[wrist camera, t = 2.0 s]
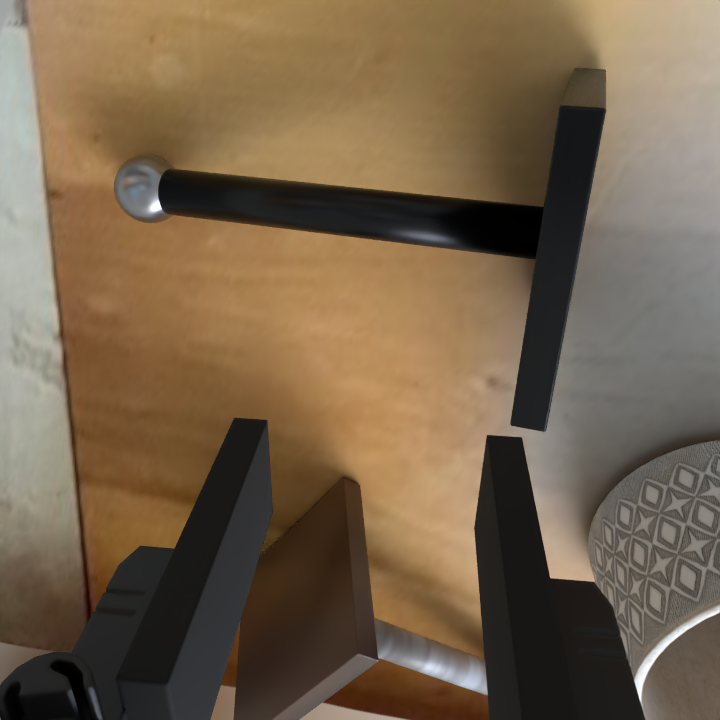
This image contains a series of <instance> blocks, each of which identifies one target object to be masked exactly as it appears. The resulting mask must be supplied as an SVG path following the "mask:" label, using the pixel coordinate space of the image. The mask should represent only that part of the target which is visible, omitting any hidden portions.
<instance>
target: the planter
mask: <svg viewBox="0 0 720 720" xmlns="http://www.w3.org/2000/svg"><path fill="white" fill-rule="evenodd" d="M588 553H589V559H590V564H591V568H592V571H593V575H594V578H595V582H596V585H597V586H598V588H599V589H600V590H601V592H602V593H603V594H604V596H605V597H606V598H607V599H608V601H609V602H610V603H611V605H612V606H613V610H614V613H615V617H616V620H617V623H618V627H619V630H620V637H622V640H623V644H624V647H625V651H626V658H627V659H628V661H629V664H630V668H631V671H632V675H633V678H634V682H635V685H636V688H637V692H638V695H639V699H640V702H641V705H642V709H643V712H644V716H645V719H646V720H720V440H717V441H711V442H705V443H699V444H694V445H691V446H687V447H684V448H680V449H677V450H674V451H672V452H669V453H667V454H664V455H662V456H660V457H657V458H655V459H653V460H651V461H650V462H648V463H646V464H644V465H643V466H641V467H639V468H637V469H636V470H635V471H633V472H632V473H631V474H629V475H628V476H627V477H625V478H624V479H623V480H622V481H621V482H620V483H619V484H618V485H617V486H616V487H615V488H614V489H613V490H612V491H611V492H610V493H609V494H608V495H607V496H606V498H605V499H604V501H603V502H602V503H601V505H600V506H599V508H598V510H597V512H596V514H595V516H594V518H593V520H592V524H591V527H590V531H589V535H588Z"/></svg>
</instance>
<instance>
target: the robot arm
mask: <svg viewBox="0 0 720 720" xmlns="http://www.w3.org/2000/svg"><path fill="white" fill-rule="evenodd" d="M272 513H273V506H272V489H271V473H270V456H269V440H268V423H267V420H258V419H243V418H234V420H233V422H232V424H231V426H230V428H229V431H228V433H227V435H226V437H225V439H224V442H223V444H222V446H221V448H220V450H219V453H218V455H217V457H216V459H215V461H214V463H213V466H212V468H211V470H210V472H209V474H208V477H207V479H206V481H205V483H204V485H203V488H202V490H201V492H200V494H199V496H198V499H197V501H196V503H195V505H194V507H193V509H192V512H191V514H190V516H189V518H188V520H187V523H186V525H185V527H184V529H183V531H182V534H181V536H180V538H179V540H178V542H177V544H176V547H175V549H172V548H160V547H148V546H139V547H138V548H137V549H136V550H135V551H134V552H133V553H132V554H131V555H130V556H128V557H127V558H126V559H125V560H124V561H123V562H122V563H121V564H120V565H119V566H118V568H117V569H116V571H115V573H114V575H113V577H112V579H111V581H110V582H109V584H108V586H107V588H106V593H104V594H103V595H102V597H101V599H100V601H99V603H98V605H97V606H96V611H95V612H93V614H92V616H91V618H90V619H89V621H88V623H87V625H86V627H85V629H84V631H83V632H82V634H81V636H80V638H79V640H78V642H77V644H76V645H75V647H74V649H73V651H72V653H68V652H52V653H49V654H45V655H41V656H37V657H35V658H33V659H31V660H29V661H28V662H26V663H24V664H22V665H21V666H19V667H17V668H16V669H15V670H14V671H13V672H12V673H11V674H10V675H9V676H8V677H7V678H6V679H5V680H4V681H3V682H2V683H1V685H0V718H1V720H210V719H211V715H212V712H213V708H214V706H215V702H216V699H217V696H218V692H219V689H220V686H221V682H222V679H223V676H224V672H225V669H226V666H227V662H228V659H229V656H230V653H231V649H232V646H233V643H234V639H235V636H236V633H237V629H238V626H239V623H240V619H241V616H242V613H243V609H244V606H245V603H246V600H247V596H248V593H249V590H250V586H251V583H252V580H253V576H254V573H255V570H256V566H257V563H258V560H259V556H260V553H261V550H262V546H263V543H264V540H265V537H266V533H267V530H268V527H269V523H270V520H271V517H272ZM474 529H475V541H476V554H477V566H478V579H479V592H480V604H481V617H482V629H483V642H484V654H485V667H486V680H487V692H488V705H489V717H490V720H646V719H645V716H644V712H643V709H642V705H641V702H640V699H639V695H638V692H637V688H636V685H635V682H634V678H633V675H632V671H631V668H630V664H629V661H628V659H627V658H626V651H625V647H624V644H623V640H622V637H620V630H619V627H618V623H617V620H616V617H615V613H614V610H613V606H612V605H611V603H610V602H609V601H608V599H607V598H606V597H605V596H604V594H603V593H602V592H601V590H600V589H599V588H598V586H597V585H596V584H595V582H588V581H576V580H564V579H552V578H550V576H549V571H548V566H547V561H546V556H545V551H544V546H543V541H542V536H541V531H540V526H539V521H538V516H537V511H536V506H535V501H534V496H533V491H532V486H531V481H530V476H529V471H528V466H527V461H526V456H525V451H524V446H523V441H522V438H521V437H507V436H492V435H487V439H486V446H485V453H484V461H483V468H482V476H481V483H480V490H479V498H478V505H477V513H476V520H475V527H474Z"/></svg>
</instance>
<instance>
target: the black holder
mask: <svg viewBox="0 0 720 720" xmlns="http://www.w3.org/2000/svg"><path fill="white" fill-rule="evenodd" d="M605 113H606V70H604V69H586V68H575V69H574V72H573V74H572V77H571V79H570V82H569V84H568V87H567V89H566V92H565V94H564V97H563V99H562V102H561V104H560V107H559V112H558V118H557V125H556V131H555V138H554V144H553V151H552V157H551V164H550V170H549V177H548V183H547V190H546V196H545V203H544V207H539V206H529V205H519V204H510V203H500V202H490V201H480V200H471V199H461V198H451V197H441V196H432V195H422V194H412V193H403V192H393V191H383V190H373V189H364V188H354V187H344V186H334V185H325V184H315V183H305V182H296V181H286V180H276V179H266V178H257V177H247V176H237V175H227V174H218V173H208V172H198V171H189V170H179V169H175V168H174V167H173V166H172V165H171V164H170V163H169V162H167V161H166V160H164V159H162V158H160V157H157V156H153V155H139V156H136V157H133V158H131V159H129V160H127V161H126V162H125V163H124V164H123V165H122V166H121V167H120V168H119V170H118V172H117V174H116V176H115V180H114V192H115V197H116V199H117V202H118V204H119V205H120V207H121V208H122V209H123V211H124V212H125V213H126V214H128V215H129V216H130V217H132V218H134V219H136V220H138V221H141V222H145V223H158V222H161V221H164V220H166V219H168V218H170V217H171V216H172V215H178V216H186V217H194V218H203V219H211V220H219V221H227V222H235V223H243V224H251V225H259V226H268V227H276V228H284V229H292V230H300V231H308V232H316V233H324V234H333V235H341V236H349V237H357V238H365V239H373V240H381V241H389V242H398V243H406V244H414V245H422V246H430V247H438V248H446V249H454V250H463V251H471V252H479V253H487V254H495V255H503V256H511V257H520V258H528V259H536V261H535V267H534V274H533V280H532V287H531V293H530V300H529V306H528V313H527V319H526V325H525V332H524V338H523V345H522V351H521V358H520V364H519V371H518V377H517V384H516V390H515V397H514V403H513V410H512V416H511V422H510V424H511V425H512V426H516V427H521V428H527V429H532V430H537V431H543V432H545V431H546V428H547V423H548V417H549V412H550V407H551V401H552V396H553V391H554V385H555V380H556V375H557V369H558V364H559V359H560V353H561V348H562V343H563V337H564V332H565V327H566V321H567V316H568V311H569V305H570V300H571V295H572V289H573V284H574V279H575V273H576V268H577V263H578V257H579V252H580V247H581V241H582V236H583V231H584V225H585V220H586V215H587V209H588V204H589V199H590V193H591V188H592V183H593V177H594V172H595V167H596V161H597V156H598V151H599V145H600V140H601V135H602V129H603V124H604V119H605Z"/></svg>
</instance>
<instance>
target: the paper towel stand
mask: <svg viewBox="0 0 720 720" xmlns="http://www.w3.org/2000/svg"><path fill="white" fill-rule="evenodd" d="M378 658H380V659H383V660H386V661H389V662H392V663H395V664H398V665H401V666H403V667H406V668H409V669H412V670H415V671H418V672H421V673H424V674H427V675H429V676H432V677H435V678H438V679H441V680H444V681H447V682H450V683H453V684H455V685H458V686H461V687H464V688H467V689H470V690H473V691H476V692H479V693H481V694H484V695H487V696H488V692H487V680H486V667H485V659H482V658H480V657H477V656H474V655H472V654H469V653H466V652H464V651H461V650H458V649H456V648H453V647H450V646H448V645H445V644H442V643H440V642H437V641H434V640H432V639H429V638H427V637H424V636H421V635H419V634H416V633H413V632H411V631H408V630H405V629H403V628H400V627H397V626H395V625H392V624H389V623H387V622H384V621H381V620H379V619H376V618H374V613H373V603H372V594H371V584H370V575H369V566H368V556H367V547H366V537H365V528H364V518H363V509H362V499H361V490H360V485H358V484H356V483H354V482H352V481H350V480H348V479H346V478H343V479H342V480H341V481H340V482H339V483H337V484H336V485H335V486H334V487H333V488H332V489H331V490H330V491H329V492H328V493H327V494H326V495H325V496H324V497H323V498H322V499H321V500H320V501H319V502H318V503H317V504H316V505H315V506H314V507H313V508H312V509H311V510H310V511H309V512H308V513H306V514H305V515H304V516H303V517H302V518H301V519H300V520H299V521H298V522H297V523H296V524H295V525H294V526H293V527H292V528H291V529H290V530H289V531H288V532H287V533H286V534H285V535H284V536H283V537H282V538H281V539H280V540H279V541H278V542H277V543H276V544H274V545H273V546H272V547H271V548H270V549H269V550H268V551H267V552H266V553H265V554H264V555H263V556H262V557H261V558H260V559H259V560H258V563H257V566H256V570H255V573H254V576H253V580H252V583H251V586H250V590H249V593H248V596H247V600H246V603H245V606H244V609H243V613H242V616H241V622H240V636H239V651H238V665H237V679H236V694H235V708H234V720H299V719H300V718H302V717H303V716H305V715H306V714H307V713H309V712H310V711H311V710H313V709H314V708H315V707H317V706H318V705H319V704H321V703H322V702H324V701H325V700H326V699H328V698H329V697H330V696H332V695H333V694H334V693H336V692H337V691H338V690H340V689H341V688H342V687H344V686H345V685H346V684H348V683H349V682H350V681H352V680H353V679H354V678H356V677H357V676H359V675H360V674H361V673H363V672H364V671H365V670H367V669H368V668H369V667H371V666H372V665H373V664H375V663H376V662H377V661H378Z"/></svg>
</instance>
